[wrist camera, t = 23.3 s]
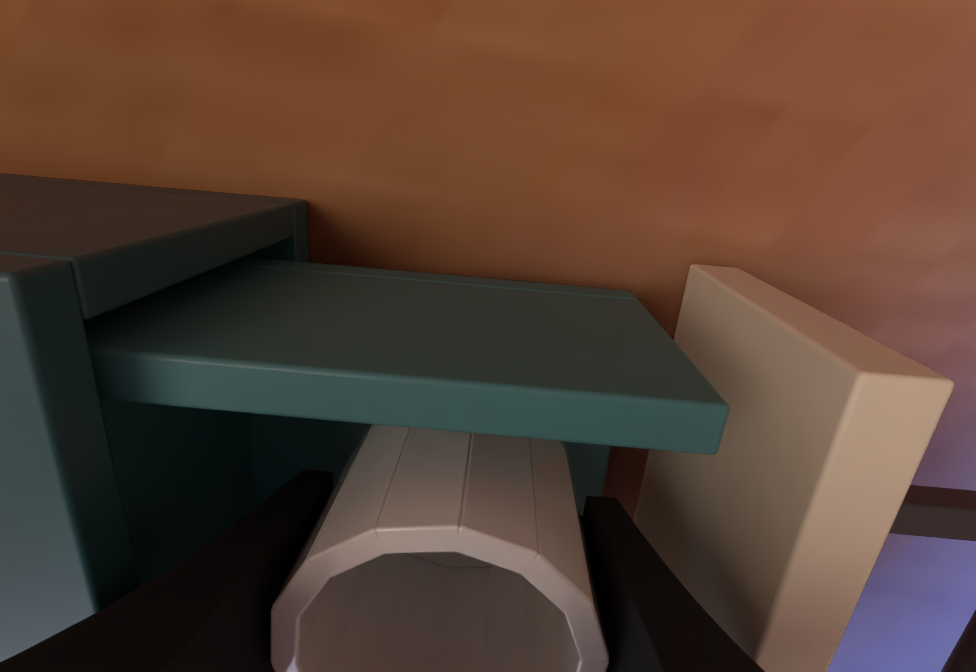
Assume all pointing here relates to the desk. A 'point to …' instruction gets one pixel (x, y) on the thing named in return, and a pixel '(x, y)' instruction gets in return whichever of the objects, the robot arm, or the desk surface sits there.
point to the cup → (444, 562)
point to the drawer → (544, 419)
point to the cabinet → (89, 370)
